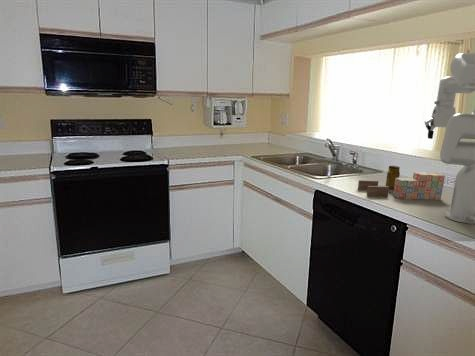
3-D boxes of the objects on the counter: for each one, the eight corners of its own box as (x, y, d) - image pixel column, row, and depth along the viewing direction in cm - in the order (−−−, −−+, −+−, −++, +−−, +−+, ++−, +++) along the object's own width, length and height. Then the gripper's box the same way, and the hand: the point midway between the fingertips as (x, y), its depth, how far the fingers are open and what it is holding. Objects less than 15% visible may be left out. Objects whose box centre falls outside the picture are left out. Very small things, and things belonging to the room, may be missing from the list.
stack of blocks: (398, 199, 172) (402, 174, 169) (392, 195, 178) (395, 171, 175) (441, 199, 173) (445, 175, 170) (433, 196, 179) (437, 172, 176)
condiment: (384, 186, 194) (387, 164, 191) (401, 188, 191) (404, 166, 188) (384, 189, 187) (387, 166, 185) (402, 191, 184) (405, 168, 182)
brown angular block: (387, 196, 174) (388, 187, 173) (367, 196, 174) (368, 186, 173) (376, 189, 187) (377, 180, 186) (357, 189, 187) (358, 180, 186)
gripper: (432, 103, 170) (426, 139, 174) (467, 104, 171) (461, 140, 175) (423, 103, 177) (418, 137, 181) (457, 104, 178) (451, 138, 182)
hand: (439, 138), depth 178 cm, fingers open, 9 cm apart
